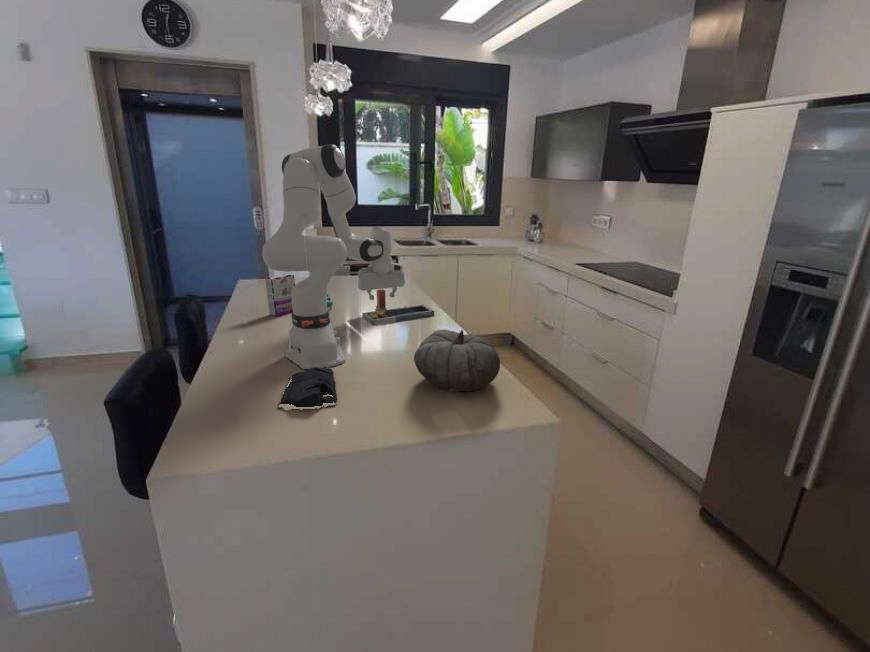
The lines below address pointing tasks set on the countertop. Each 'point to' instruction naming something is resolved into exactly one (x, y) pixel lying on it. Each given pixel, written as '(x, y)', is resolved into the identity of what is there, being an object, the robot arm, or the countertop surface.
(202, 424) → the countertop surface
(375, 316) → the shiny gold ball
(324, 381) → the dark slate chunk
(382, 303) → the red-brown bar
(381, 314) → the yellow-brown round piece
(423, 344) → the gourd
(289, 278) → the candy bar box
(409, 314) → the tray
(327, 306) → the gear
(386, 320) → the tray
